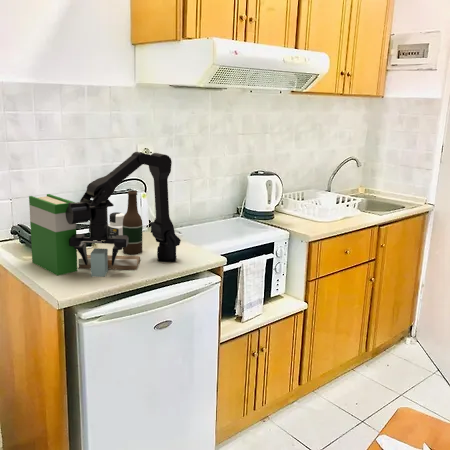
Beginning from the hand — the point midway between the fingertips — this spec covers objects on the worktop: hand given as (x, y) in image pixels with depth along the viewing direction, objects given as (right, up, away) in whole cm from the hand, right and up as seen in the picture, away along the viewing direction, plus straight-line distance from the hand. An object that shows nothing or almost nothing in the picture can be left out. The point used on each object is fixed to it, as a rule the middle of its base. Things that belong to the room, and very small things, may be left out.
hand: (99, 265), depth 172 cm
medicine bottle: (-2, +7, +39) cm, 39 cm away
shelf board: (+1, 0, +11) cm, 11 cm away
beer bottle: (+6, +3, +25) cm, 26 cm away
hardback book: (-17, -1, +6) cm, 18 cm away
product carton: (0, -3, +1) cm, 3 cm away
